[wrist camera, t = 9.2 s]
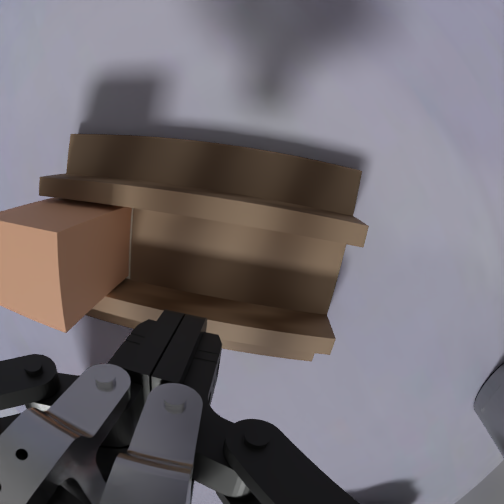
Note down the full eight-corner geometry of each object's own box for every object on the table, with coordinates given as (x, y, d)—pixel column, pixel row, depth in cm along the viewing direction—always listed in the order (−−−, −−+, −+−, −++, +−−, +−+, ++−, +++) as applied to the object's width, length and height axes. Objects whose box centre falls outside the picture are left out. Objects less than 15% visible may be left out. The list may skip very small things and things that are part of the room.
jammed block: (132, 204, 18) (57, 232, 10) (128, 275, 20) (66, 332, 12) (63, 195, 18) (-17, 217, 10) (63, 260, 20) (-7, 302, 12)
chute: (357, 170, 18) (379, 172, 14) (310, 354, 22) (317, 388, 18) (77, 134, 18) (44, 132, 14) (74, 305, 22) (49, 327, 18)
